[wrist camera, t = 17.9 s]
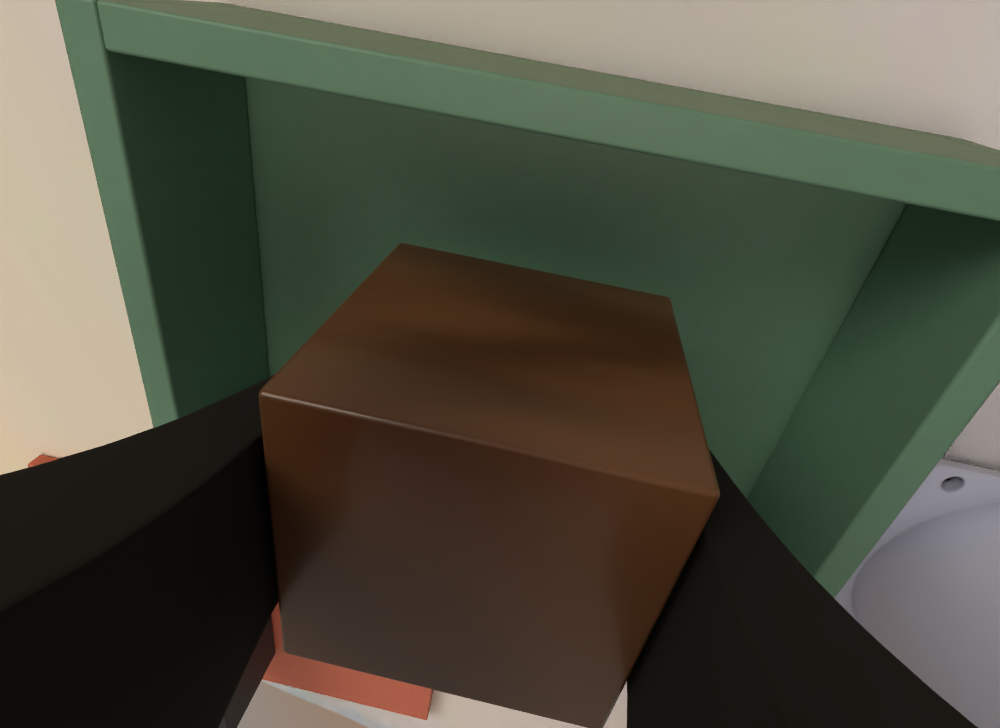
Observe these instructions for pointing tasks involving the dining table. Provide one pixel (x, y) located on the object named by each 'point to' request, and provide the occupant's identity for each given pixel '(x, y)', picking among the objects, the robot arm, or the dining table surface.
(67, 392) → the dining table surface
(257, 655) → the lunchbox lid
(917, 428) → the box
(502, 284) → the walnut block
